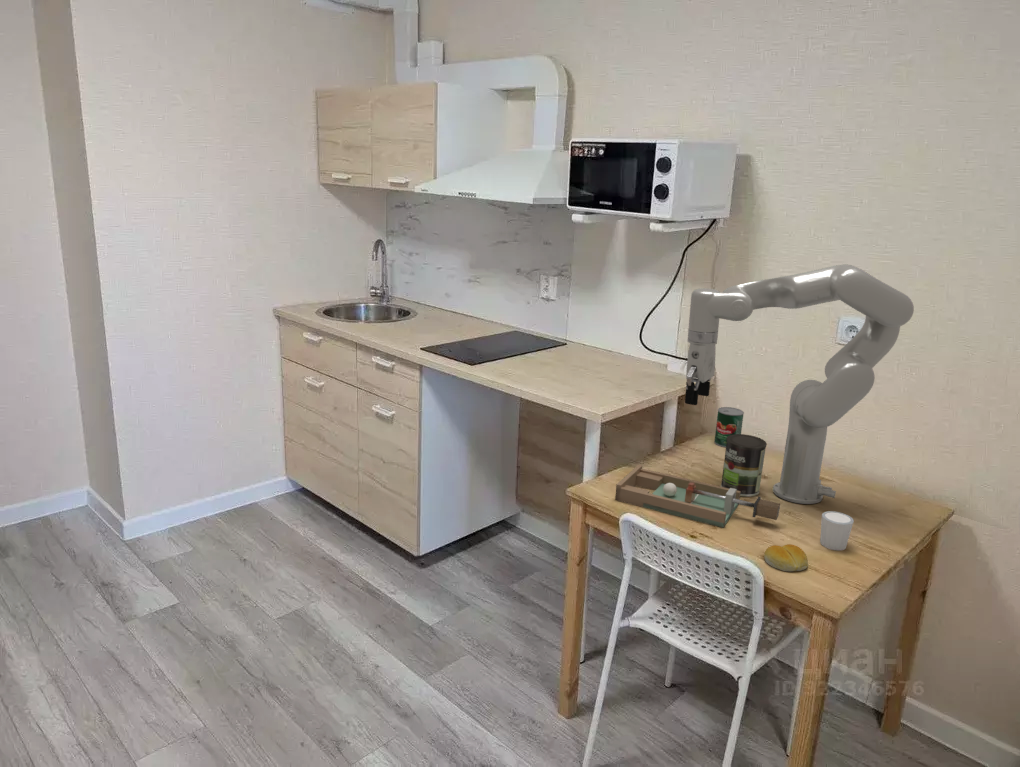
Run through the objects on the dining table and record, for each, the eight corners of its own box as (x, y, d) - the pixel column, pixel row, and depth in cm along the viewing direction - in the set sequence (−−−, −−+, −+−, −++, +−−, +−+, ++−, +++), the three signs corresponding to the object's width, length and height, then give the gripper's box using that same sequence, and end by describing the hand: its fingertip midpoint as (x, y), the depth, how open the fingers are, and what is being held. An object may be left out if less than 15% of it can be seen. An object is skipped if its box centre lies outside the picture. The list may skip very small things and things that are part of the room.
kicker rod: (778, 517, 182) (781, 500, 181) (775, 524, 178) (777, 507, 177) (689, 495, 193) (691, 479, 191) (684, 502, 189) (685, 486, 187)
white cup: (812, 537, 176) (816, 510, 174) (839, 537, 176) (844, 510, 174) (825, 551, 169) (830, 524, 167) (854, 551, 170) (859, 524, 168)
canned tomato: (739, 441, 239) (743, 408, 235) (740, 449, 231) (744, 416, 228) (714, 438, 241) (718, 405, 237) (713, 446, 233) (717, 413, 230)
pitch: (738, 504, 192) (741, 481, 191) (723, 527, 179) (726, 504, 177) (636, 479, 205) (638, 458, 204) (615, 500, 192) (617, 477, 190)
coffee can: (742, 500, 195) (748, 450, 191) (712, 485, 203) (718, 437, 199) (768, 492, 200) (775, 443, 196) (738, 478, 209) (744, 431, 205)
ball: (677, 495, 194) (679, 482, 193) (673, 499, 191) (675, 487, 190) (665, 491, 195) (666, 479, 194) (660, 496, 192) (661, 484, 191)
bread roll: (757, 555, 167) (759, 539, 166) (795, 553, 168) (797, 538, 167) (774, 574, 159) (776, 557, 158) (813, 572, 160) (816, 556, 159)
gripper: (706, 344, 183) (700, 410, 188) (726, 333, 198) (720, 394, 202) (677, 340, 187) (672, 405, 192) (699, 329, 201) (693, 389, 206)
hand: (697, 399), depth 197 cm, fingers open, 9 cm apart
